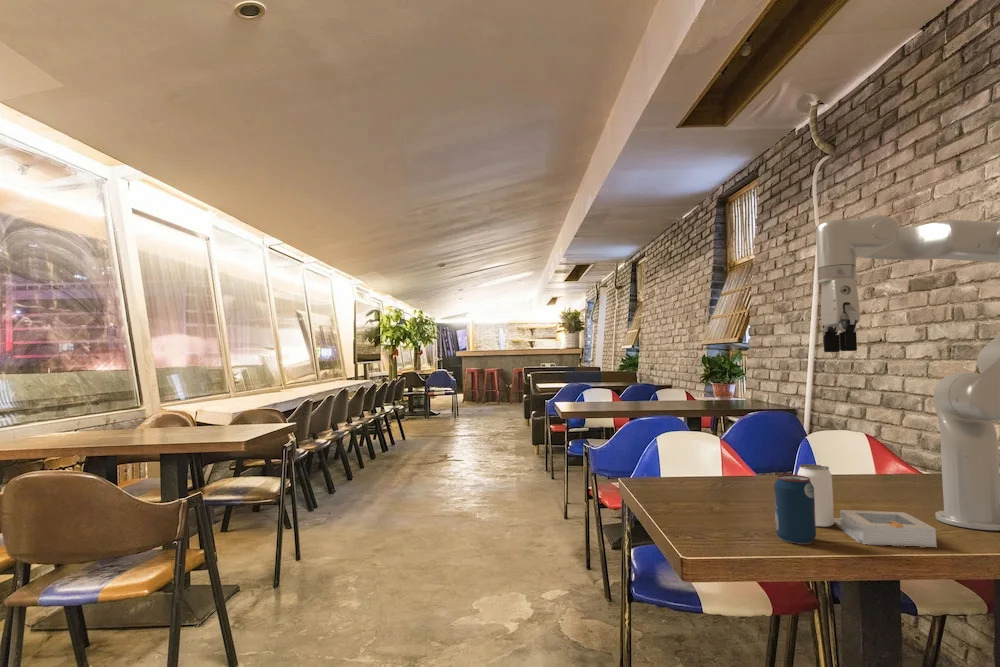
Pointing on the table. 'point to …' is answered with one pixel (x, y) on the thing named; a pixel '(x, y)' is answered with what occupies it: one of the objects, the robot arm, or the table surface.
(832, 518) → the can
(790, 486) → the soda can
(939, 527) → the table surface
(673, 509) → the table surface
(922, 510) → the table surface
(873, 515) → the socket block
